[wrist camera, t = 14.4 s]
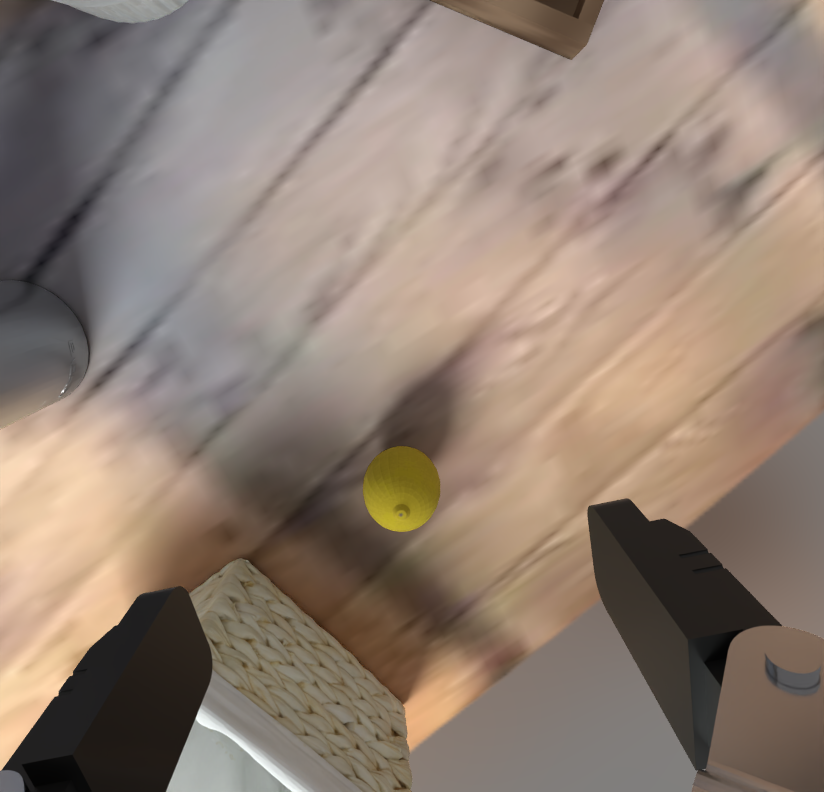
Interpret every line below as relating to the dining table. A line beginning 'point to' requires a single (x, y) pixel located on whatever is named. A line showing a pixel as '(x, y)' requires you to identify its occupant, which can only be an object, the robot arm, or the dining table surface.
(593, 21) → the serving box
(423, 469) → the lemon
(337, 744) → the storage basket
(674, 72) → the dining table surface
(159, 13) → the ramekin
